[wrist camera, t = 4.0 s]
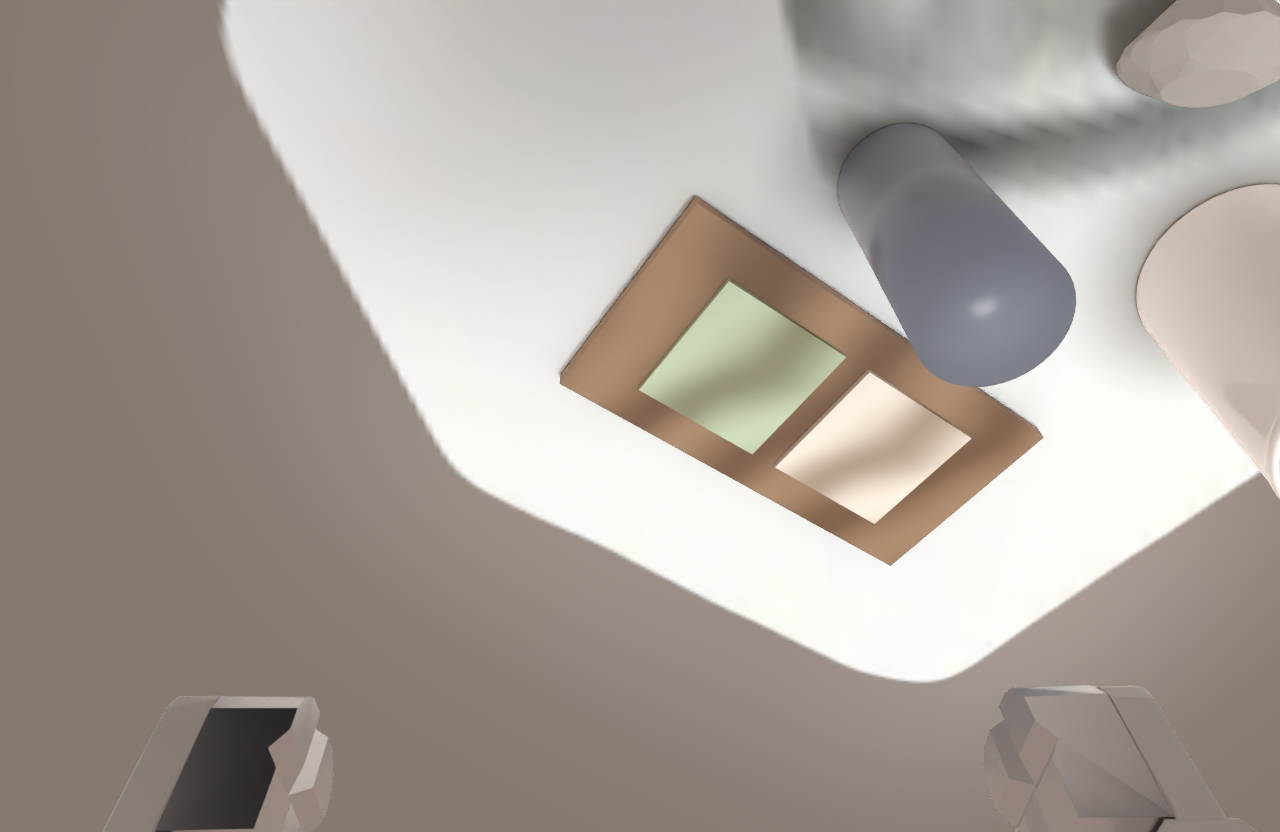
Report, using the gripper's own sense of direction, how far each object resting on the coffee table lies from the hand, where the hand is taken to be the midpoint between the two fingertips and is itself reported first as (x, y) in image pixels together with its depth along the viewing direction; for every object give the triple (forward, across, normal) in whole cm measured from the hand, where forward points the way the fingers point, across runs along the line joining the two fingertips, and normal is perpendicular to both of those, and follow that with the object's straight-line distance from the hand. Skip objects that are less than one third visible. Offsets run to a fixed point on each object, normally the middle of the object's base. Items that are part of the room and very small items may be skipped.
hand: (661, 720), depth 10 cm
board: (+29, -9, +16) cm, 34 cm away
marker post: (+29, -11, +4) cm, 32 cm away
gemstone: (+30, -21, -2) cm, 36 cm away
